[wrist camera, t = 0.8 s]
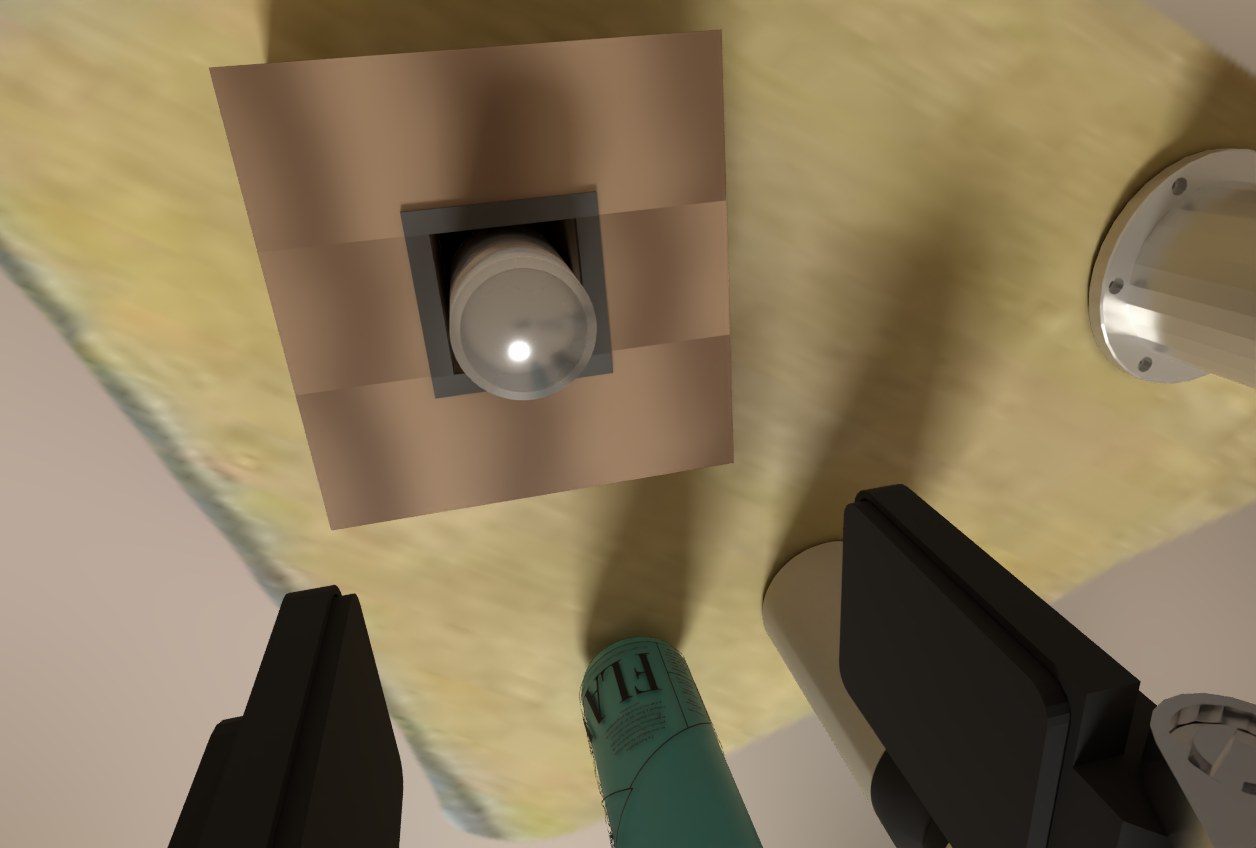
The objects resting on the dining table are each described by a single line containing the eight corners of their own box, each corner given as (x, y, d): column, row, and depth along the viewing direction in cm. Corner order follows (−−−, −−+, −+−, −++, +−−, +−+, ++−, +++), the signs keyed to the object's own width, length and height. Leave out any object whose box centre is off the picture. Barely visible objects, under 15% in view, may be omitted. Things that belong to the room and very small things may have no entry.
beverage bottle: (640, 596, 43) (777, 948, 25) (704, 663, 46) (869, 1024, 28) (549, 665, 44) (618, 1060, 26) (618, 728, 46) (725, 1124, 28)
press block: (662, 46, 33) (723, 29, 26) (681, 397, 39) (735, 464, 32) (266, 77, 30) (206, 67, 23) (354, 446, 37) (330, 532, 29)
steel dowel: (557, 215, 30) (590, 250, 23) (569, 326, 32) (603, 390, 24) (440, 228, 29) (437, 268, 22) (459, 341, 31) (462, 411, 24)
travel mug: (736, 589, 44) (902, 867, 28) (853, 513, 44) (1089, 750, 28) (795, 674, 48) (973, 967, 32) (904, 603, 48) (1141, 862, 31)
